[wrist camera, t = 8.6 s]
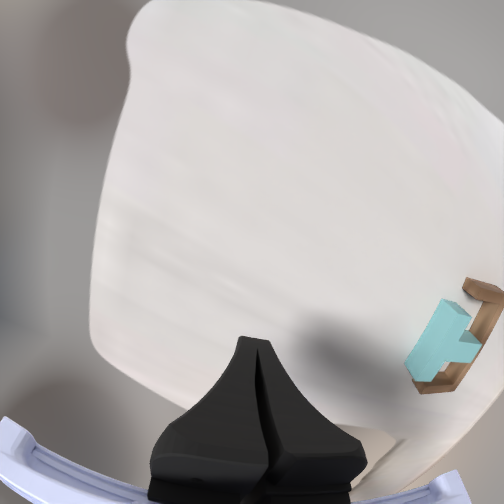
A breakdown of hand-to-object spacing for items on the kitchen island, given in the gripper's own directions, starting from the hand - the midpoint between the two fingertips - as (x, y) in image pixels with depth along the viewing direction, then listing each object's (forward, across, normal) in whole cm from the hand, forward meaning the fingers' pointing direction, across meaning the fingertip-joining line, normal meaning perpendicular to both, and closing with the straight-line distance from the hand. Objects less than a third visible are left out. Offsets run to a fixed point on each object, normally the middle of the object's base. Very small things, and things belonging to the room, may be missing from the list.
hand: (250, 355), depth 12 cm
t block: (+10, -22, +3) cm, 25 cm away
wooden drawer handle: (+10, -24, +3) cm, 26 cm away
